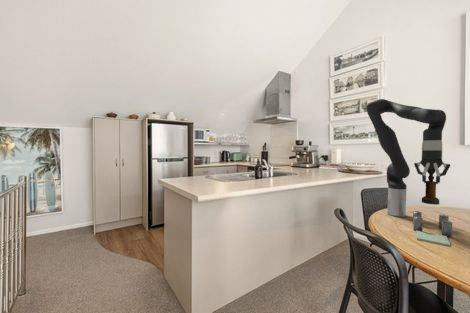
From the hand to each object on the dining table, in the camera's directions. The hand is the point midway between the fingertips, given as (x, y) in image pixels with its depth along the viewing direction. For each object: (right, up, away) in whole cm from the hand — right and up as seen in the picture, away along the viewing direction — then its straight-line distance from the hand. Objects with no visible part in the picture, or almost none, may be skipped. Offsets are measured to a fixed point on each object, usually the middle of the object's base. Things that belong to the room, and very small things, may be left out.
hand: (430, 183), depth 107 cm
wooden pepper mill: (0, -10, 0) cm, 10 cm away
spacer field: (+3, -25, +4) cm, 26 cm away
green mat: (-6, -26, -7) cm, 27 cm away
